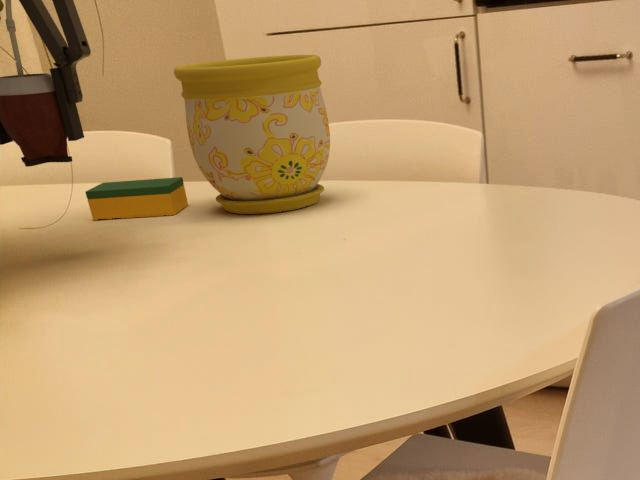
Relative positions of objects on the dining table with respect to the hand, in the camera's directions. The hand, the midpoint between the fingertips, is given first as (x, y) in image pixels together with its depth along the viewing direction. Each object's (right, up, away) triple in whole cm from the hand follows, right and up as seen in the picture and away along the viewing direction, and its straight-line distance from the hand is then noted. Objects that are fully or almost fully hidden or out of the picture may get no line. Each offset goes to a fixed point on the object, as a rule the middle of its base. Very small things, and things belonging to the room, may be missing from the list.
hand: (40, 140), depth 100 cm
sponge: (+1, +5, +27) cm, 28 cm away
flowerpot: (+19, +5, +26) cm, 32 cm away
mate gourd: (0, -2, +1) cm, 2 cm away
